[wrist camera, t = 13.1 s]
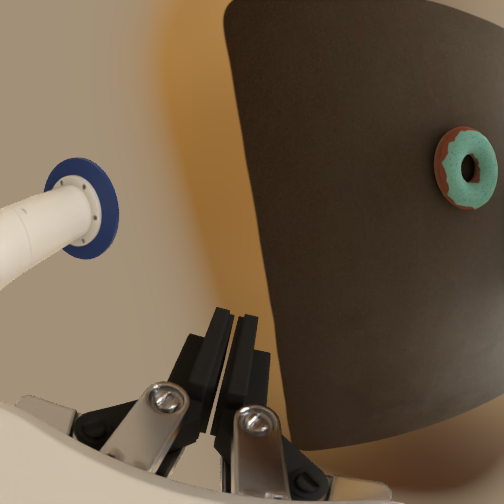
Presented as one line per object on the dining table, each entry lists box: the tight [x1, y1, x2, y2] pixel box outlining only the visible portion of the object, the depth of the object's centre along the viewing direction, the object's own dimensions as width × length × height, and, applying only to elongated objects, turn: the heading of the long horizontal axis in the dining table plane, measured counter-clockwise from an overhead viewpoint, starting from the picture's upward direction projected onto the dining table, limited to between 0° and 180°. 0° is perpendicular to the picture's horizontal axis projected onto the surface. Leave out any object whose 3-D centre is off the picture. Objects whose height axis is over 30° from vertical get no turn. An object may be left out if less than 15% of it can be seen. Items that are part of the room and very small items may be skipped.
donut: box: [434, 126, 498, 210], centre depth 28 cm, size 12×12×4 cm
